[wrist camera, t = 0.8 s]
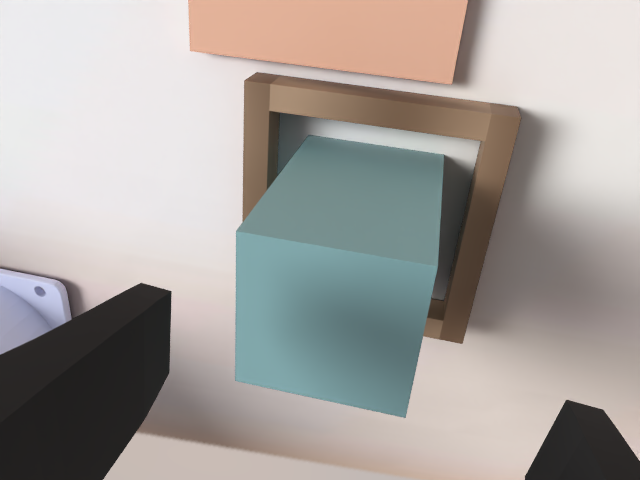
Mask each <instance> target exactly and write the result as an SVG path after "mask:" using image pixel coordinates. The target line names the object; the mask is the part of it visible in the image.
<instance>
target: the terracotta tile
mask: <svg viewBox="0 0 640 480" xmlns="http://www.w3.org/2000/svg"><path fill="white" fill-rule="evenodd" d="M467 3H468V0H188V4H189V33H190V51H194V52H202V53H209V54H217V55H225V56H233V57H241V58H248V59H256V60H264V61H272V62H280V63H287V64H295V65H303V66H311V67H318V68H326V69H334V70H342V71H350V72H357V73H365V74H373V75H381V76H389V77H396V78H404V79H412V80H420V81H428V82H435V83H443V84H451V85H452V81H453V76H454V71H455V65H456V60H457V55H458V50H459V45H460V39H461V34H462V29H463V24H464V19H465V13H466V8H467Z"/></svg>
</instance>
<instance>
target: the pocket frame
mask: <svg viewBox="0 0 640 480" xmlns="http://www.w3.org/2000/svg"><path fill="white" fill-rule="evenodd" d="M280 112H281V113H288V114H295V115H302V116H309V117H317V118H324V119H331V120H338V121H345V122H352V123H359V124H366V125H373V126H380V127H387V128H394V129H401V130H408V131H415V132H422V133H429V134H436V135H443V136H450V137H458V138H465V139H472V140H479V141H481V142H480V147H479V151H478V155H477V160H476V164H475V169H474V173H473V177H472V182H471V186H470V190H469V195H468V199H467V203H466V208H465V212H464V217H463V221H462V225H461V230H460V234H459V238H458V243H457V247H456V251H455V256H454V260H453V265H452V269H451V273H450V278H449V282H448V286H447V291H446V295H445V299H444V301H440V300H435V299H431V301H430V306H429V310H428V315H427V320H426V324H425V329H424V334H423V336H425V337H430V338H435V339H440V340H445V341H451V342H456V343H461V344H462V343H463V340H464V336H465V332H466V328H467V324H468V320H469V317H470V313H471V309H472V305H473V301H474V297H475V294H476V290H477V286H478V282H479V278H480V274H481V271H482V267H483V263H484V259H485V255H486V251H487V248H488V244H489V240H490V236H491V232H492V228H493V224H494V221H495V217H496V213H497V209H498V205H499V201H500V198H501V194H502V190H503V186H504V182H505V178H506V175H507V171H508V167H509V163H510V159H511V155H512V152H513V148H514V144H515V140H516V136H517V132H518V129H519V125H520V121H521V116H520V113H519V110H518V107H516V106H508V105H501V104H493V103H486V102H478V101H470V100H463V99H455V98H448V97H440V96H432V95H425V94H417V93H410V92H402V91H395V90H387V89H379V88H372V87H364V86H357V85H349V84H341V83H334V82H326V81H319V80H311V79H303V78H296V77H288V76H281V75H273V74H266V73H258V72H257V73H255V74H254V75H252V76H251V77H249V78H248V79H246V80H245V81H244V151H243V221H244V220H245V219H246V217H247V216H248V215H249V213H250V212H251V211H252V210H253V208H254V207H255V206H256V204H257V203H258V202H259V200H260V199H261V198H262V196H263V195H264V194H265V192H266V191H267V190H268V188H269V187H270V186H271V184H272V183H273V182H274V180H275V179H276V178H277V161H278V139H279V116H280Z"/></svg>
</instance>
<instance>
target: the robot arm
mask: <svg viewBox="0 0 640 480" xmlns="http://www.w3.org/2000/svg"><path fill="white" fill-rule="evenodd" d="M41 287H42V288H43V289H44V290H45V291H44V290H43V289H42V288H41ZM170 325H171V291H169V290H165V289H161V288H158V287H154V286H150V285H147V284H143V283H140V284H138V285H136V286H134V287H132V288H130V289H128V290H126V291H124V292H122V293H120V294H119V295H117V296H115V297H113V298H111V299H109V300H107V301H105V302H104V303H102V304H100V305H98V306H96V307H94V308H92V309H91V310H89V311H87V312H85V313H83V314H81V315H79V316H77V317H75V318H74V319H72V318H71V312H70V307H69V301H68V295H67V291H66V288H65V286H64V285H63V284H62V283H61V282H59V281H57V280H54V279H50V278H45V277H40V276H35V275H30V274H25V273H20V272H15V271H10V270H5V269H0V480H103V479H104V477H105V476H106V474H107V473H108V471H109V470H110V468H111V467H112V466H113V464H114V463H115V461H116V460H117V459H118V457H119V456H120V454H121V453H122V452H123V450H124V449H125V447H126V446H127V444H128V443H129V441H130V440H131V439H132V437H133V436H134V434H135V433H136V431H137V430H138V428H139V427H140V425H141V424H142V422H143V421H144V419H145V418H146V416H147V414H148V412H149V410H150V408H151V407H152V405H153V403H154V401H155V399H156V397H157V395H158V393H159V391H160V390H161V388H162V386H163V384H164V382H165V380H166V378H167V376H168V374H169V362H170ZM525 480H640V461H639V460H638V458H637V457H636V455H635V454H634V452H633V451H632V450H631V448H630V447H629V445H628V444H627V442H626V441H625V439H624V438H623V437H622V435H621V434H620V432H619V431H618V429H617V428H616V427H615V425H614V424H613V422H612V421H611V420H610V418H609V417H608V416H607V414H606V413H605V412H604V410H602V409H598V408H595V407H591V406H587V405H584V404H580V403H577V402H573V401H569V400H566V401H565V403H564V405H563V407H562V409H561V411H560V413H559V414H558V416H557V418H556V420H555V422H554V424H553V426H552V427H551V429H550V431H549V433H548V435H547V437H546V439H545V440H544V442H543V444H542V446H541V448H540V450H539V452H538V453H537V455H536V457H535V459H534V461H533V463H532V465H531V467H530V468H529V470H528V472H527V474H526V476H525Z"/></svg>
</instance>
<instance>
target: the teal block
mask: <svg viewBox="0 0 640 480" xmlns="http://www.w3.org/2000/svg"><path fill="white" fill-rule="evenodd" d="M443 167H444V155H442V154H435V153H429V152H422V151H415V150H408V149H401V148H395V147H388V146H381V145H374V144H367V143H360V142H354V141H347V140H340V139H333V138H326V137H320V136H313V135H308V137H307V138H306V139H305V140H304V142H303V143H302V144H301V146H300V147H299V148H298V150H297V151H296V152H295V154H294V155H293V156H292V158H291V159H290V160H289V162H288V163H287V164H286V166H285V167H284V168H283V170H282V171H281V172H280V174H279V175H278V176H277V178H276V179H275V180H274V182H273V183H272V184H271V186H270V187H269V188H268V190H267V191H266V192H265V194H264V195H263V196H262V198H261V199H260V200H259V202H258V203H257V204H256V206H255V207H254V208H253V210H252V211H251V212H250V213H249V215H248V216H247V217H246V219H245V220H244V221H243V223H242V224H241V225H240V227H239V228H238V229H237V231H236V348H235V381H238V382H243V383H248V384H252V385H257V386H261V387H266V388H271V389H275V390H280V391H284V392H289V393H294V394H298V395H303V396H307V397H312V398H317V399H321V400H326V401H330V402H335V403H340V404H344V405H349V406H353V407H358V408H363V409H367V410H372V411H376V412H381V413H386V414H390V415H395V416H399V417H404V418H406V413H407V408H408V404H409V399H410V394H411V390H412V385H413V380H414V376H415V371H416V366H417V362H418V357H419V352H420V348H421V343H422V338H423V334H424V329H425V324H426V320H427V315H428V310H429V306H430V301H431V296H432V292H433V287H434V282H435V278H436V273H437V268H438V255H439V238H440V220H441V202H442V185H443Z"/></svg>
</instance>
